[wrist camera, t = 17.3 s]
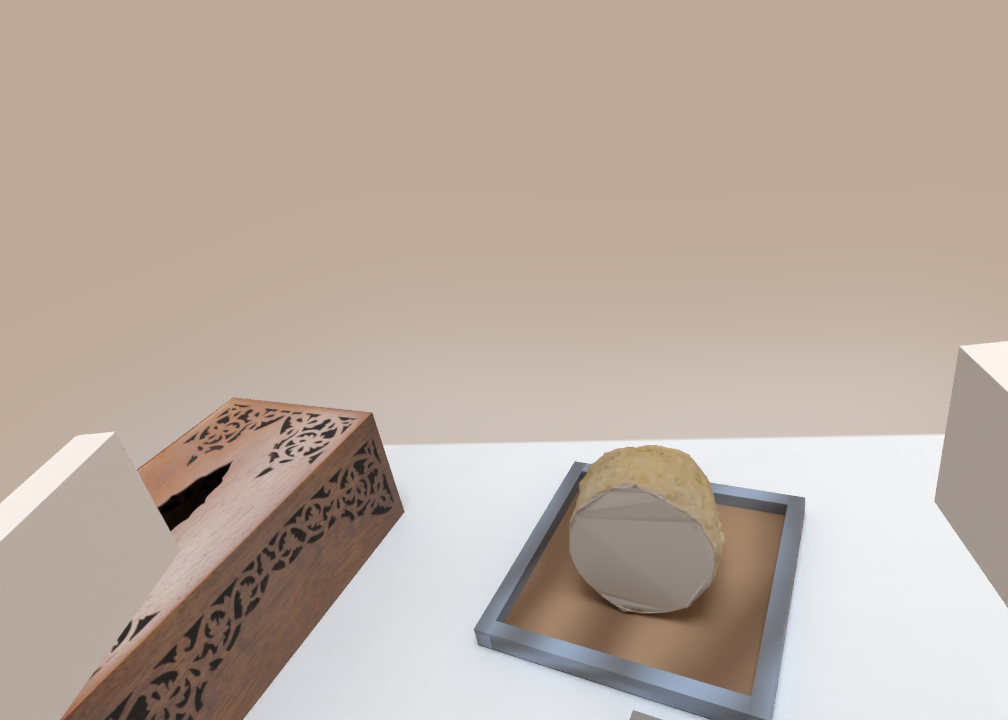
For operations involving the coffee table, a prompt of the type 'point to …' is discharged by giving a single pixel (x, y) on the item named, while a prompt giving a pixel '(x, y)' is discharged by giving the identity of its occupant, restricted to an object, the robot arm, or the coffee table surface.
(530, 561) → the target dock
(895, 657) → the coffee table surface
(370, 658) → the coffee table surface
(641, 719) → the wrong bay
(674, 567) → the coral
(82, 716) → the tissue box cover
